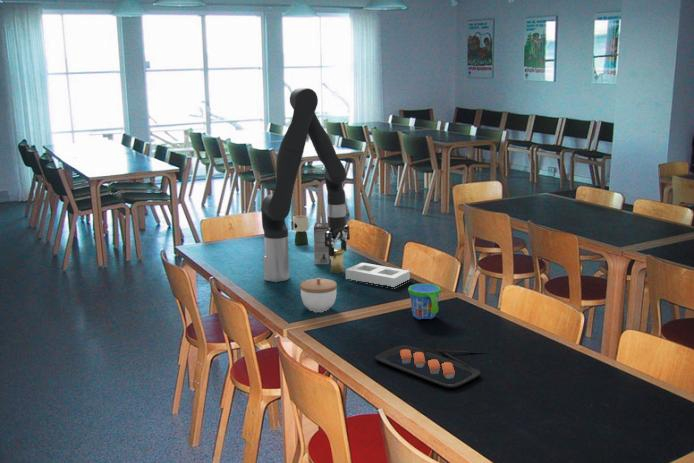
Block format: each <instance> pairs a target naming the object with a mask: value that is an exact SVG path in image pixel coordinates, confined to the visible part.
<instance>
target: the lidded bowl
mask: <svg viewBox="0 0 694 463" xmlns="http://www.w3.org/2000/svg"><path fill="white" fill-rule="evenodd" d="M337 287H338V284H337V282H336V281H334V280H332V279H328V278H320V277H317V278H311V279H307V280H304V281H302V282H300V284H299V288H300V298H301V301H302V303H303V305H304V306H305V307H306V308H307V309H308V311H309V310H310V312H311V311H313V312H312V313H318V312H319V313H325V312H324V311H326V312H328V311H329V310H330V308H332V306H333V305H334V304H335V302H336V299H337V292H338V289H337ZM327 310H328V311H327Z"/></svg>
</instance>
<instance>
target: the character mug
mask: <svg viewBox="0 0 694 463" xmlns="http://www.w3.org/2000/svg"><path fill="white" fill-rule="evenodd" d="M292 218H293V220H292V222H293V231H294V232H295V233H294V234H295V236H294V244H295V245H305V244H308V243H309V238H308V231H309V227H310V226H309V216H307V215H294V216H293V217H292Z"/></svg>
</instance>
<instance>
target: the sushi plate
mask: <svg viewBox="0 0 694 463" xmlns="http://www.w3.org/2000/svg"><path fill="white" fill-rule="evenodd" d="M411 351H412V352H415V353H413V358H414V365H415V366H416V368H423V367H424V366H425V365H426V361H425V356H427V357H430V358H433V359H431V360H428V362H427V363H428V366H429V369H430V373H431V374H439V371H440V368H441V367H440V363H439V361H441V362H444V363H442V364H441V366H442V370H443V376H444V377H445V378H446V379H451V378H452V379H453V378H454V376H455V370H454V367H453V366H456V367H458V368H461V369H463V370H466V371H469V372H471V373H472V375H471V376H469V377H468V378H466V379H464V380H462V381H460V382H457V383H455V384H445V383H442V382H439V381H437V380H434V379H431V378H429V377H426V376H424V375H421V374H419V373H416V372H414V371H412V370H409V369H407V368H404V367H402V366H399V365H397V364H394V363H391V362H389V361H388V360H386V359H387V357H390V356H393V355H396V354H398V353H400V356H401V359H402V363H403V364H409V363H411V358H412V354H411ZM433 352H440V353H442V352H443V353H442V354H444V353H445V354H444V355H446V356H447V355H448V356H447V357H444V356H442V355H438V354H436V353H433ZM454 352H468V351H467V350H466V351H465V350H445V349H444V350H443V349H442V350H441V349H440V350H436V349H424V348H419V347H416V346H413V345H407V344H402V345H401V344H400V345H397V346H395V347H392V348H389V349H387V350H385V351H382V352H380V353H378V354H376V355H375V357H374V358H375V360H376V361H378V362H380V363H383V364H384V365H387V366H389V367H392V368H395V369H398V370H400V371H402V372H405V373H407V374H411V375H413V376H416V377H418V378H421V379H423V380H426V381H428V382H430V383H433V384H436V385H439V386H441V387H444V388H451V389H452V388H458V387H460V386H463V385H464V384H466V383H469V382H470V381H473V380H474V379H476V378H478V377H479V376H480V375H481V371H480V370H479V369H477V368H474V367H473V366H470V365H469V364H468V363H467V364H466V363H465V362H463V361H461V359H460V360H459V359H458V358H456V357H454V356H452V355H450V354H449V353H454ZM424 355H425V356H424ZM448 357H449V358H448ZM452 359H453V360H452ZM438 360H439V361H438Z"/></svg>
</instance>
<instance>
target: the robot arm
mask: <svg viewBox="0 0 694 463" xmlns="http://www.w3.org/2000/svg"><path fill="white" fill-rule="evenodd" d="M318 101H319V98H318V95H317V93H316V91H315V90H314V89H311V88H310V87H309V88H308V87H298V88H295V89H294V90H293V91H292V92H291V93H290V95H289V104H290V106H291V108H292V109H293V114H292V117H291V118H292V119H291V122H290V124H289V126H288V128H287V130H286V132H285V134H284V136H283V137H282V140H281V142H280V145H279V147H278V148H279V149H278V152H277V156H276V165H275V169H276V170H275V171H276V172H275V173H276V174H275V175H276V179H275V180H276V181H275V186H274V190H273V193H272V194H271V193H270V194H268V195H266V196H265V197H264V198H263V200H262V203H261V208H260V209H261V212H260V213H261V223H262V224H261V225H262V229H263V233H264V234H263V235H264V236H263V237H264V239H263V241H264V256H263V257H262V258H263V280H264V281H268V282H273V283H278V282H285V281H287V280H289V279H290V262H289V230H288V227H287V225H286V221H285V219H286V218H287V217H288V215H289V213H290V211H291V205H292V199H293V193H294V188H295V184H296V182H297V181H296V180H297V176H298V173H299V169H300V167H301V166H300V165H301V163H302V160H303V159H302V158H303V156H304V151H305V146H306V142H307V139H308V137H309V139H310V141H311V143H312V147H313V148H314V151H315V153H316V155H317V156H318V159H319V161H320V162H321V163H322V164H323V166H324V168H325V170H324V180H325V181H324V183H325V187H326V192H327V195H326V196H327V207H326V211H327V212H326V215H327V219H326V220H327V223H328V226H329V227H330V232H325V246H327V247H328V248H329V256H330V257H331V256H332V257H333V256H334V248H335V245H336V244H337V242H338V241H339V240H340V249H344V253H345V252H347V242H348V240H349V241H350V239H351V238H350V237H351V236H350V235H351V234H350V226H349V225H347V208H346V193H345V190H344V188H343V184H342V183H344V182H345V180H346V179H347V171H346V168H345V167H344V165H343V163H342V161H341V160H340V158H339V156H338V154H337V153H336V152H337V151H336V150H335V147H334V144H333V143H332V140H331V138H330V136H329V135H328V133H327V131H326V129H324V127H323V125H322V124H321V122H320V121H319V118H318V117H317V114H316V110H317V107H318V103H319V102H318ZM328 241H329V242H328Z"/></svg>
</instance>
